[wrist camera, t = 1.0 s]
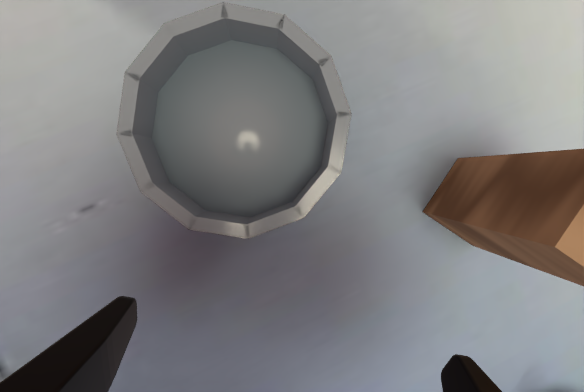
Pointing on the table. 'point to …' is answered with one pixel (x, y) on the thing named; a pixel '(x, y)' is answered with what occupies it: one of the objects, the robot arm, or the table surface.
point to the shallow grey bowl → (233, 120)
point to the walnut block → (519, 208)
